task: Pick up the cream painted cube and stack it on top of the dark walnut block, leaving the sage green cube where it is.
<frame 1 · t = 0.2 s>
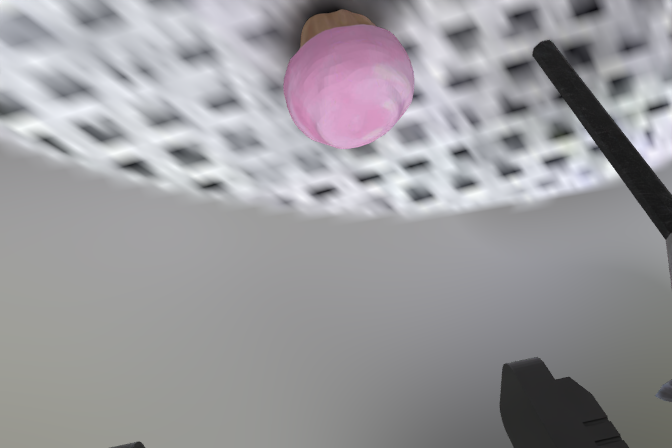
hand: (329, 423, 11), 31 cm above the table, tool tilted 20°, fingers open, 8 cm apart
cupcake: (331, 33, 39), on the table
solar garden light: (541, 48, 44), on the table
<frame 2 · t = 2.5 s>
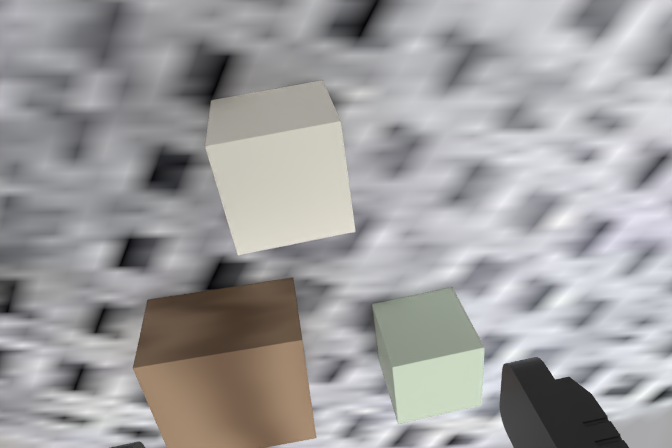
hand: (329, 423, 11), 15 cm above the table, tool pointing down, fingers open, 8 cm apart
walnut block: (234, 336, 31), on the table
sage green cube: (413, 323, 32), on the table
cream cube: (277, 140, 24), on the table
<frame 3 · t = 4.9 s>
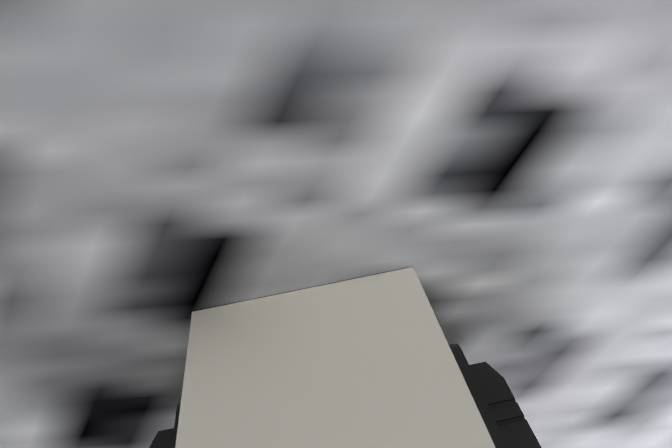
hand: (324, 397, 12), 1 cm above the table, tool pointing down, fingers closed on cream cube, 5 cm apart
cream cube: (320, 364, 13), on the table, touching gripper
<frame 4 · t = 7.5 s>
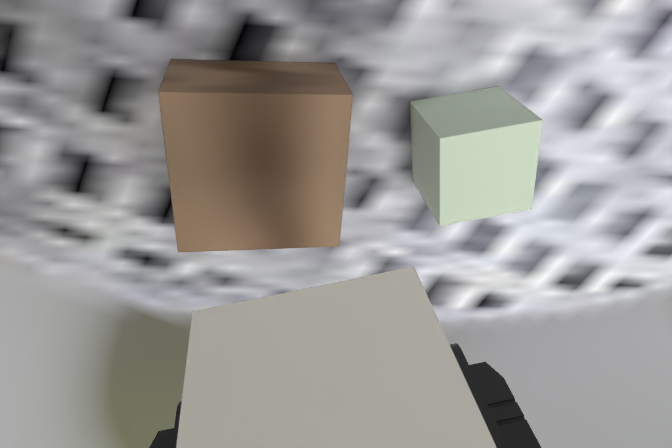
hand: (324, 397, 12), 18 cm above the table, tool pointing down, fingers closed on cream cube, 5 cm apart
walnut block: (256, 134, 27), on the table
sage green cube: (453, 135, 29), on the table
cream cube: (321, 363, 13), point 17 cm above the table, touching gripper
when the fingers open (7 cm above the table, at t = 10.4 s): cream cube drops 2 cm, resting on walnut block.
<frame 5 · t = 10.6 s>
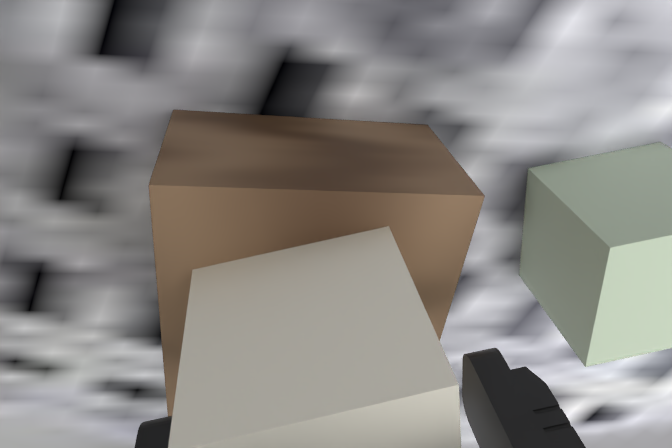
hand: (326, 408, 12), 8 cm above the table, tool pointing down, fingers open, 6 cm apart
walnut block: (295, 221, 18), on the table, touching cream cube
sage green cube: (583, 211, 20), on the table
cream cube: (310, 319, 14), point 5 cm above the table, touching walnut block
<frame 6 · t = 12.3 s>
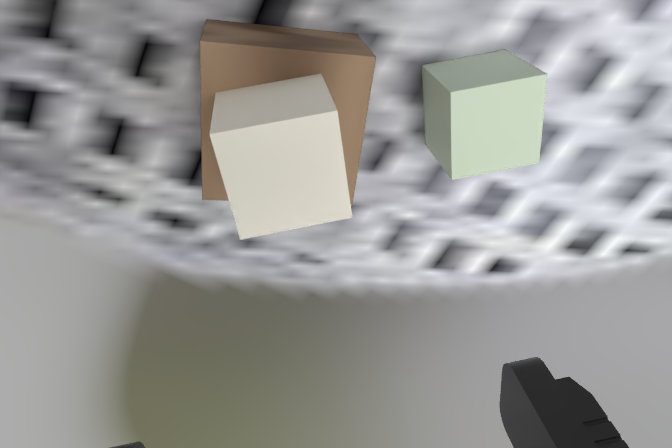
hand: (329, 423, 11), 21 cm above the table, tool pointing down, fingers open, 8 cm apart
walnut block: (279, 98, 29), on the table, touching cream cube
sage green cube: (463, 98, 31), on the table
cream cube: (279, 132, 25), point 5 cm above the table, touching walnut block
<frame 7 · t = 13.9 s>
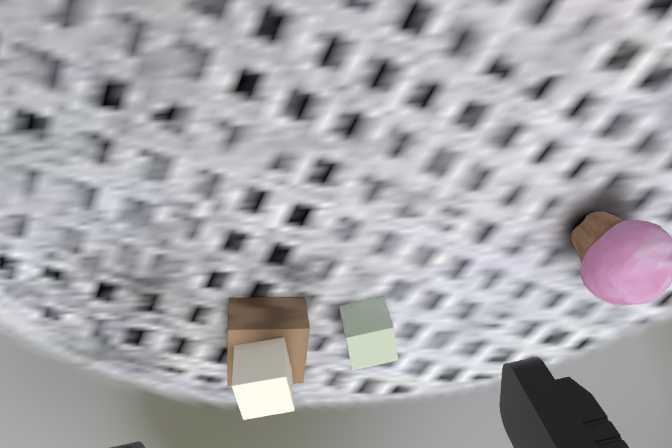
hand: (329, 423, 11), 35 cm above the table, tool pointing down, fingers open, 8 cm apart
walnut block: (266, 323, 56), on the table, touching cream cube
sage green cube: (363, 316, 58), on the table
cupcake: (590, 226, 55), on the table
cream cube: (264, 358, 52), point 5 cm above the table, touching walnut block
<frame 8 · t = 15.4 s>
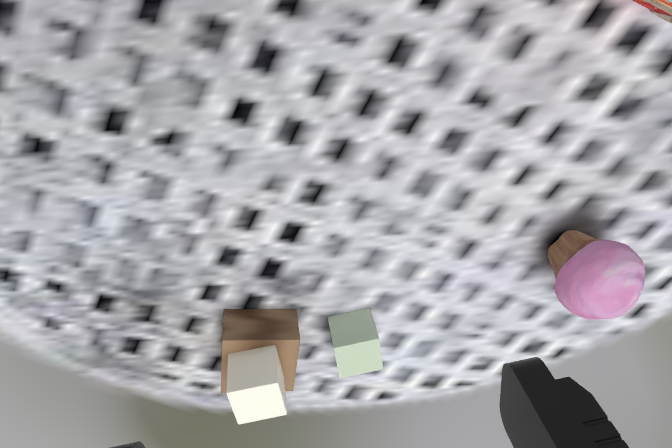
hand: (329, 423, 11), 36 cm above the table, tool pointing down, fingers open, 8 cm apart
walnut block: (258, 333, 59), on the table
sage green cube: (351, 326, 60), on the table
cupcake: (565, 243, 58), on the table
cream cube: (256, 365, 55), point 5 cm above the table
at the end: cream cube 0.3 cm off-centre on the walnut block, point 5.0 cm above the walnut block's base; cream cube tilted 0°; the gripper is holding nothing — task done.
